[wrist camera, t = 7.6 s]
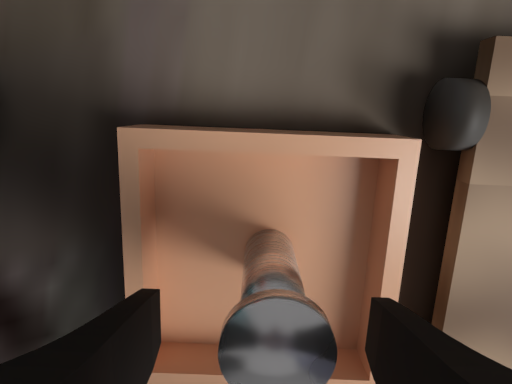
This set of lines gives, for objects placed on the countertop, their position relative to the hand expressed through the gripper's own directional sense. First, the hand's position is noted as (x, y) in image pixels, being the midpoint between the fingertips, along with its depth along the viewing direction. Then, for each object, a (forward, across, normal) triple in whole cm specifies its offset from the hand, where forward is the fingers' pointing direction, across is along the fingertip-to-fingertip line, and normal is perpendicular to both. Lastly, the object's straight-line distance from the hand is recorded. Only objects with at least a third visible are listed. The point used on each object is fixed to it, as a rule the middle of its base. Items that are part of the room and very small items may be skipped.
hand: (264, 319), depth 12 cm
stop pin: (+6, 0, 0) cm, 6 cm away
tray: (+6, 0, 0) cm, 6 cm away
